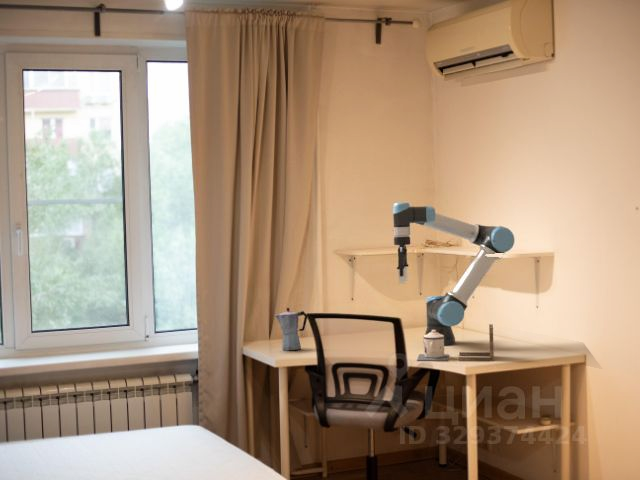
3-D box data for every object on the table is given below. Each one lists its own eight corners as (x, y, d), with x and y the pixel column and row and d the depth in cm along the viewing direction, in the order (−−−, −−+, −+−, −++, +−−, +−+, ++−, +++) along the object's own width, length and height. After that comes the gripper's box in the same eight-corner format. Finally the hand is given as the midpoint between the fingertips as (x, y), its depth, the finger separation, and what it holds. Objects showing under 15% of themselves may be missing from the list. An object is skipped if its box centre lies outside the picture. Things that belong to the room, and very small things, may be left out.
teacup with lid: (426, 354, 382) (425, 328, 382) (446, 354, 380) (445, 328, 379) (421, 359, 371) (420, 332, 370) (441, 359, 368) (441, 332, 368)
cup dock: (459, 355, 380) (458, 324, 379) (493, 355, 377) (492, 324, 376) (458, 360, 367) (457, 328, 366) (493, 361, 364) (493, 328, 364)
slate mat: (419, 355, 383) (419, 354, 383) (448, 355, 381) (448, 354, 381) (417, 360, 370) (417, 359, 370) (447, 361, 367) (447, 359, 367)
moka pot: (275, 348, 414) (274, 307, 413) (307, 347, 415) (306, 305, 414) (276, 351, 404) (275, 309, 403) (309, 350, 405) (307, 308, 405)
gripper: (396, 235, 408) (397, 279, 409) (391, 237, 384) (392, 284, 385) (412, 235, 407) (413, 279, 408) (407, 237, 383) (409, 284, 383)
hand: (403, 282), depth 396 cm, fingers open, 13 cm apart
